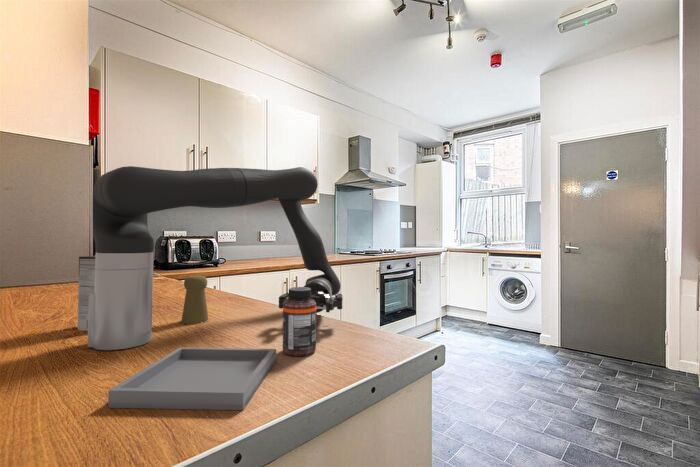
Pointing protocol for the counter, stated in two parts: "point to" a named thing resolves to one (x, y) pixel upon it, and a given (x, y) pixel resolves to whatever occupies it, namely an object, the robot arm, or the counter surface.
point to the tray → (196, 380)
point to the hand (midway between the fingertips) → (307, 307)
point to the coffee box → (85, 289)
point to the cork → (195, 300)
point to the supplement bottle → (299, 322)
